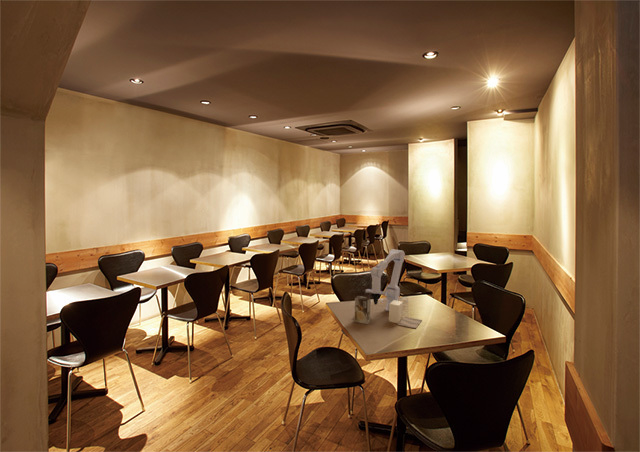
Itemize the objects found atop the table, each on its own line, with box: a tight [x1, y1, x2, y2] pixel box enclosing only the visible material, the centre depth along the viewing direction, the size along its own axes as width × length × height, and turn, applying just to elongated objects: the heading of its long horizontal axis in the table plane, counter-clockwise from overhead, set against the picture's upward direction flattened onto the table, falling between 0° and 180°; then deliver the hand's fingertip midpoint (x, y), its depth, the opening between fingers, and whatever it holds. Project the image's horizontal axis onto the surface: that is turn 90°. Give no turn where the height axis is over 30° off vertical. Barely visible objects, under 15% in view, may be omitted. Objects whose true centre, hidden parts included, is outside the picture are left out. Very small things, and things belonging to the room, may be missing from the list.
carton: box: [388, 300, 404, 324], centre depth 222 cm, size 9×6×12 cm
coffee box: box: [354, 295, 371, 325], centre depth 219 cm, size 9×6×16 cm
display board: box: [397, 316, 423, 330], centre depth 218 cm, size 16×12×1 cm
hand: (375, 304), depth 229 cm, fingers closed
